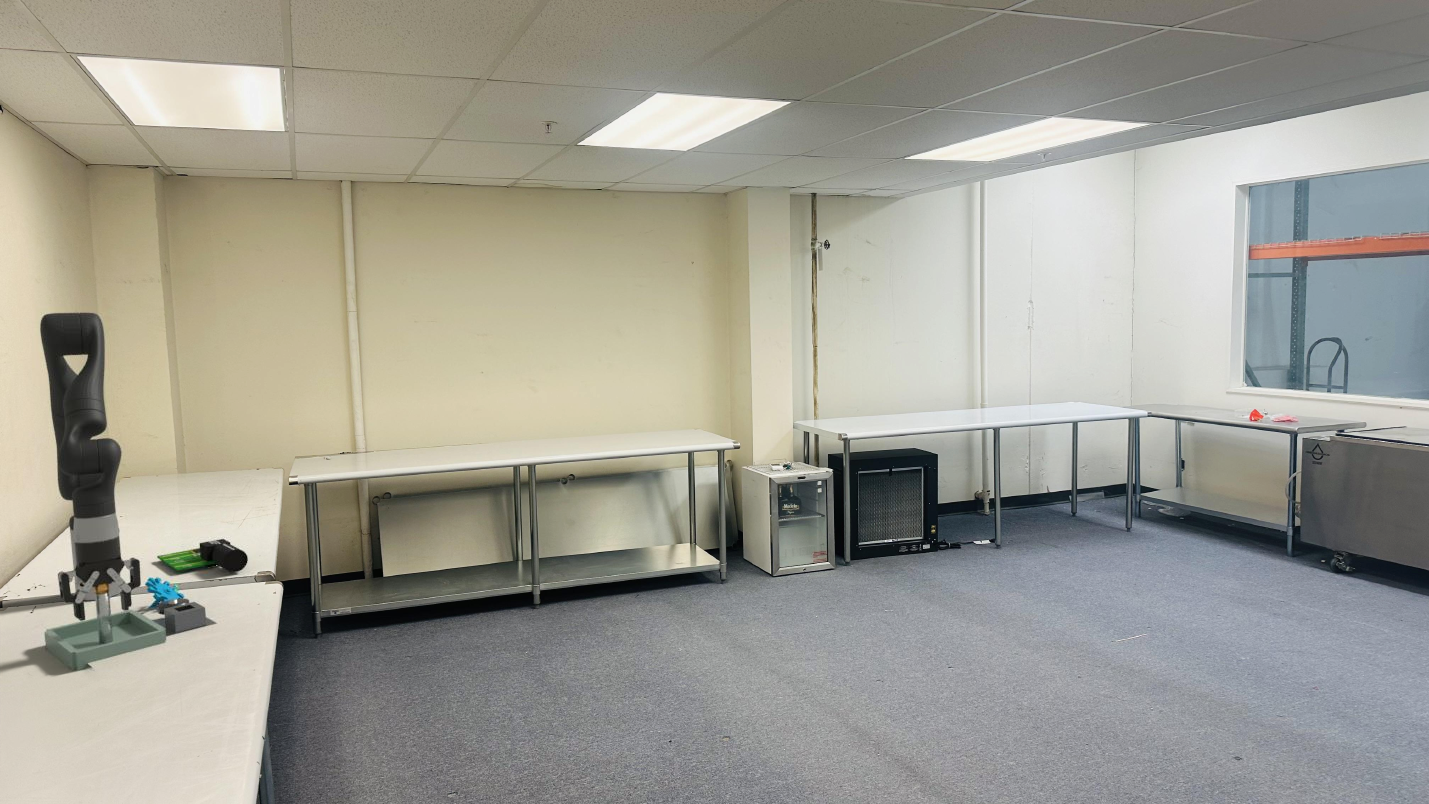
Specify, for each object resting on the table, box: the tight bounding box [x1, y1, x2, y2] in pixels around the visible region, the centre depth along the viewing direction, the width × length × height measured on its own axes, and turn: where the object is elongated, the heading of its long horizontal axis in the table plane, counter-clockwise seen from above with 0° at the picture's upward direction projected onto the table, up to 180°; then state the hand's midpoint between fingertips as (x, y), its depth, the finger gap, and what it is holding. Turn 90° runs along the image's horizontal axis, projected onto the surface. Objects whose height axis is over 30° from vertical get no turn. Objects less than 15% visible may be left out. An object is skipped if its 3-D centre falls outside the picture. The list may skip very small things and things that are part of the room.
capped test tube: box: [94, 583, 113, 644], centre depth 182 cm, size 2×2×12 cm
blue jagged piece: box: [144, 576, 185, 609], centre depth 206 cm, size 11×6×10 cm
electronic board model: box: [156, 538, 249, 573], centre depth 240 cm, size 30×7×15 cm
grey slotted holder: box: [153, 598, 218, 638], centre depth 194 cm, size 13×10×6 cm
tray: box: [44, 609, 167, 671], centre depth 183 cm, size 20×16×4 cm
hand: (103, 614), depth 182 cm, fingers open, 7 cm apart
